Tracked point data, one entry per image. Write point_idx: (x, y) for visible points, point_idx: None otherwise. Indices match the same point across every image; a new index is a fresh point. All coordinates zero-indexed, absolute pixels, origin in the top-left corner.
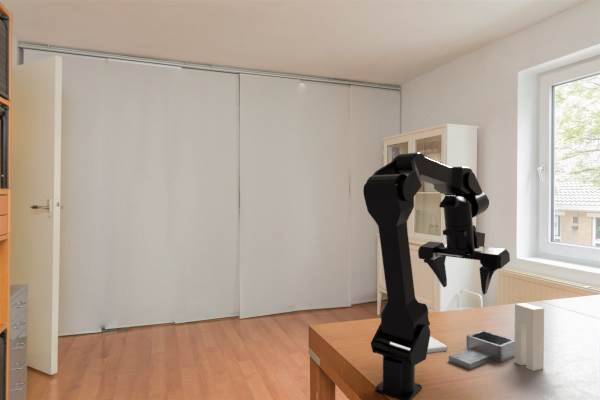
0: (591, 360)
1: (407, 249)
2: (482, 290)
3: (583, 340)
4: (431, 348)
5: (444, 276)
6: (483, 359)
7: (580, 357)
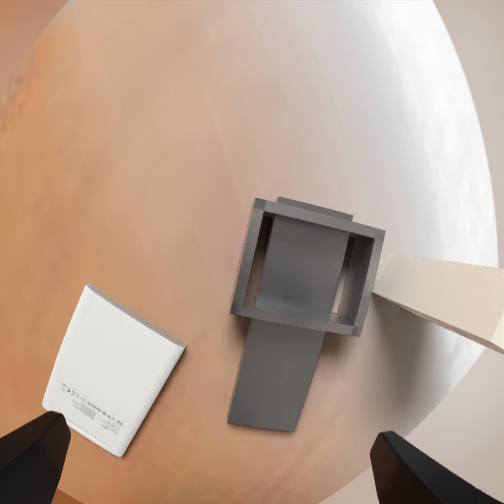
0: (479, 138)
1: None
2: (379, 485)
3: (424, 12)
4: (157, 391)
5: (30, 480)
6: (312, 376)
7: (463, 131)
